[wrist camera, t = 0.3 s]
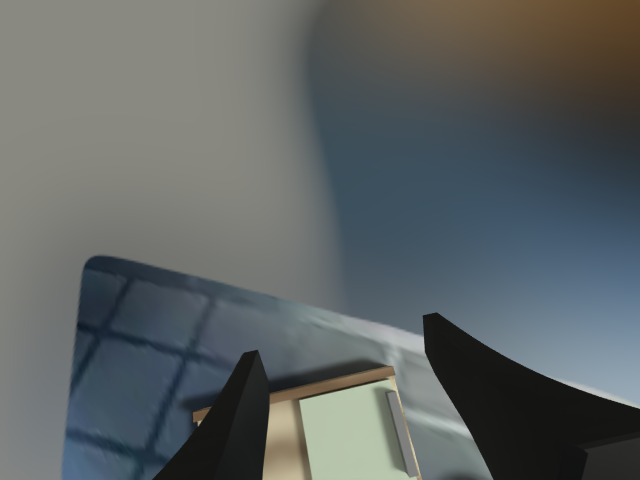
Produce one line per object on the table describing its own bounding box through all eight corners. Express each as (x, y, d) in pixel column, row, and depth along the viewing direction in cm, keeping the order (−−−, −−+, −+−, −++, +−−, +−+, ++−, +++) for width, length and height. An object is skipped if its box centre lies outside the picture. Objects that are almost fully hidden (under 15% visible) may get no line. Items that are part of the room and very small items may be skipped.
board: (419, 484, 35) (428, 496, 32) (211, 539, 34) (200, 557, 31) (387, 365, 40) (393, 366, 37) (203, 408, 38) (192, 412, 35)
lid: (414, 479, 34) (422, 489, 31) (317, 504, 33) (317, 517, 30) (388, 378, 37) (392, 380, 35) (299, 399, 37) (298, 402, 34)
